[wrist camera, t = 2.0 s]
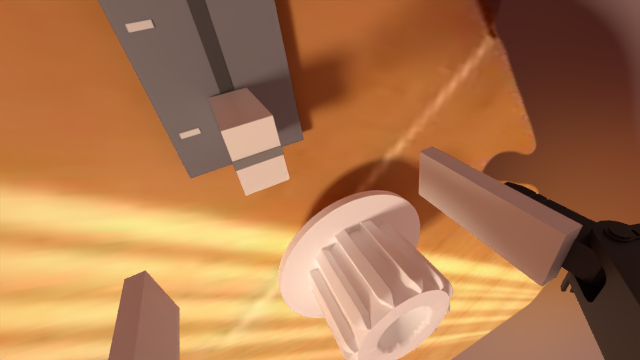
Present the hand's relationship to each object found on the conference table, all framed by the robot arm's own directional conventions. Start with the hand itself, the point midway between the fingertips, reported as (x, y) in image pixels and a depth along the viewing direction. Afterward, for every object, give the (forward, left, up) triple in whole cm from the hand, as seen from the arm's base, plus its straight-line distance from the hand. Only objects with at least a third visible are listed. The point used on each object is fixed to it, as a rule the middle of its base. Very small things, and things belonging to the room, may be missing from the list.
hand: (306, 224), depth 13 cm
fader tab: (0, -2, -21) cm, 21 cm away
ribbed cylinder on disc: (+10, -28, -24) cm, 38 cm away
